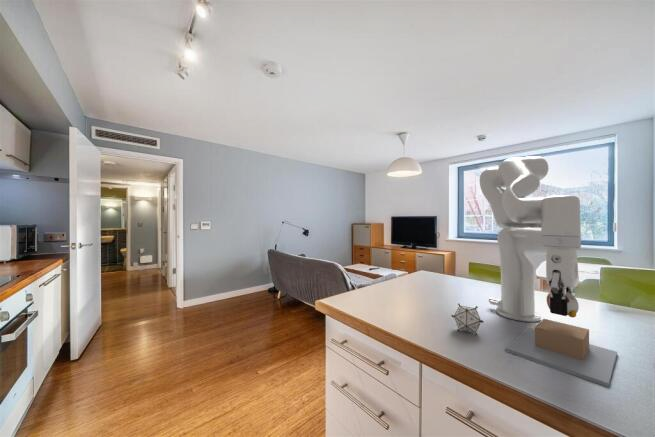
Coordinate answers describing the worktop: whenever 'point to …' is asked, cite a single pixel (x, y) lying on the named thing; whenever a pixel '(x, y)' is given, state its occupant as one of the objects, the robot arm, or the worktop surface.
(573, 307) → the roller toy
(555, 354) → the tower base
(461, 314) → the white geodesic ball toy
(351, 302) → the worktop surface
